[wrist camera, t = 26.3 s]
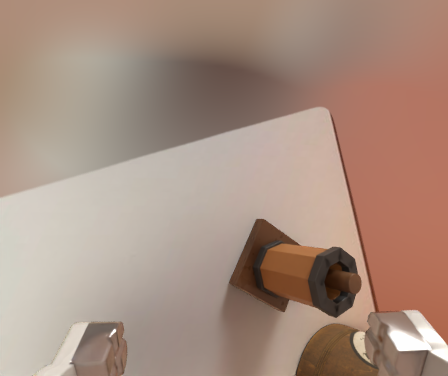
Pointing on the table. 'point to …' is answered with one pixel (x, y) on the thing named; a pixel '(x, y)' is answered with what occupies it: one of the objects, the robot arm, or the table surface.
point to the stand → (268, 234)
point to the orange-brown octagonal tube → (304, 275)
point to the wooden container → (336, 354)
